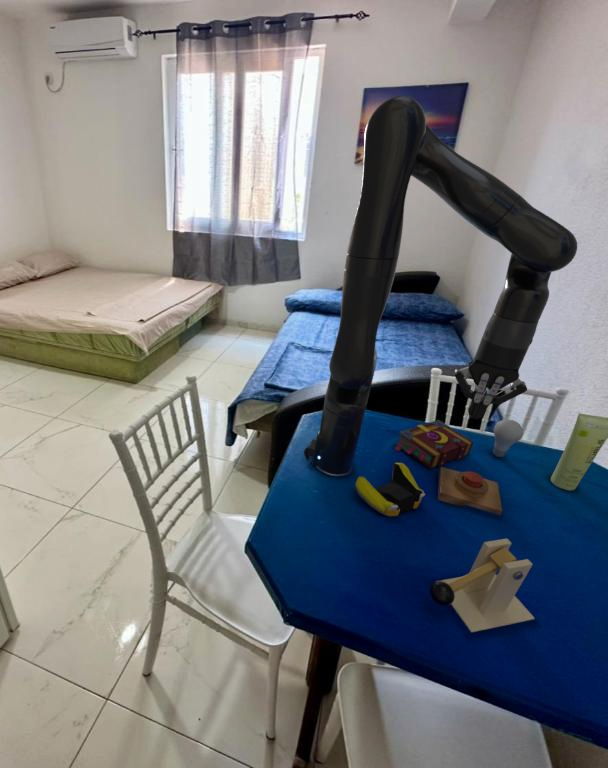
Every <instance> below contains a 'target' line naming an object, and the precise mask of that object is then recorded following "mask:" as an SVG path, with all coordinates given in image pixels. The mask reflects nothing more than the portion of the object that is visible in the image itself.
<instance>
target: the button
mask: <svg viewBox="0 0 608 768" xmlns="http://www.w3.org/2000/svg"><path fill="white" fill-rule="evenodd" d="M465 472H466V473H465V475H464V478H463V482H464V483H465V484H467V485H468V486H471V487H474V488H479V487H480V486H481V484H482V482H483V479H484V478H483V476H482V475H480V474H479V473H478V472H475V471H465Z"/></svg>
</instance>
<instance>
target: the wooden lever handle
mask: <svg viewBox="0 0 608 768" xmlns="http://www.w3.org/2000/svg"><path fill="white" fill-rule="evenodd" d="M490 558H491V562H489V563H487V564H486V565H484V566H482V567H480V568H478V569H476V570H474V571H472V572H471V573H470V572H468V573H467V574H465V575H463V576H460V577H461V578H459V579H457V580H456V581H454V582H452V583H450V584H447V583H445V582H442V581H441V580H436V581H437V582H436V581H434V582H433V583H431V585H430V587H429V595H430V598H431V599H432V601H433V602H434V603H435V604H437V605H438V606H441V607H449V606H452V605H451V604H452V603H453V601H454V599H455V594H454V593H455V592H457V591H459V590H460V589H462V588H464V587H466V586H468V585H470V584H472V583H474V582H476V581H477V580H479V579H481V578H483V577H485V576H487V575H489V574H491V573H492V572H494V571H496V570H497V571H498V572H499V571H500V569H501V567H502V565H503V564H504V563H508V562H514V561H518V560H517V557H516V556H514V554H513V553H512V552H510V550H509V549H507V548H506V547H505V548H503V549H501V550H499V551H497V552H495V553H493V554H491V555H490Z"/></svg>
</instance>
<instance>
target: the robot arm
mask: <svg viewBox="0 0 608 768" xmlns="http://www.w3.org/2000/svg"><path fill="white" fill-rule="evenodd" d="M363 139H364V143H363V144H364V147H363V148H364V149H363V167H362V180H361V181H362V182H361V190H360V196H359V201H358V204H357V205H358V206H357V209H356V213H355V216H354V220H353V223H352V229H351V232H350V236H349V242H348V247H347V250H346V251H347V253H346V260H345V265H344V272H343V282H342V289H341V290H342V292H341V304H340V320H339V326H338V331H337V335H336V339H335V343H334V347H333V350H332V354H331V356H330V360H329V363H328V364H329V365H328V367H329V373H330V376H329V380H328V384H327V388H326V391H325V395H324V402H323V407H322V414H321V420H320V425H319V430H318V432H317V434H316V438H315V439H314V438H312V439H311V441H310V444H309V445H308V446H307V447H305V448H304V450H303V456H304V457H305V460H306V461H310V460H311V458H312V462H311V467H312V468H316V470H317V471H319V472H320V473H321V474H323V475H325V476H328V477H333V478H344V477H346V476H347V477H348V475H351V473H352V471H353V469H354V461H355V458H356V453H357V449H358V444H359V439H360V435H361V431H362V427H363V422H364V418H365V414H366V410H367V404H368V401H369V397H370V393H371V388H372V384H373V379H374V376H375V371H376V366H377V364H378V363H377V362H378V352H377V349H376V344H377V336H378V330H379V326H380V323H381V319H382V316H383V314H384V312H385V309H386V305H387V302H388V300H389V296H390V294H391V290H392V287H393V283H394V280H395V275H396V272H397V266H398V262H399V257H400V251H401V245H402V244H401V243H402V237H403V229H404V216H405V206H406V205H405V204H406V197H407V192H408V187H409V184H410V180H411V177H413V178H414V179H416V180H417V181H419V182H420V183H422V184H423V185H425V186H426V187H427V188H428V189H430V190H431V191H432V192H433V193H435V195H437V196H438V197H439V198H440V199H441V200H443V201H444V202H445V203H446V204H447V205H448V206H449V207H450V208H451V209H452V210H454V212H456V213H457V214H458V215H460V216H461V217H462V218H463V219H464V220H466V222H468V223H470V225H472V226H473V227H474V228H476V229H477V230H478V231H480V232H481V233H483V234H484V235H485V236H487V237H488V238H490V239H492V240H493V241H496V242H498V244H500V245H501V246H502V247H504V248H505V249H506V250H507V251H508V252H510V253H511V254H510V258H509V262H508V265H507V270H506V275H505V280H504V283H503V284H504V285H503V287H502V291H500V294H499V297H498V298H497V299H498V300H497V302H496V303H495V304H496V305H495V306H494V309H493V312H492V314H491V316H490V317H489V320H488V322H487V323H486V326H485V329H484V331H483V334H482V337H481V339H480V342H479V345H478V347H477V350H476V352H475V355H474V357H473V359H472V361H470V362H469V363H468V365H467V366H466V367H462V368H460V367H456V368H455V369H454V378H455V380H456V382H457V383H458V385H459V387H460V390H461V391H462V393H463V395H464V397H465V398H466V399H470V400H471V401H470V403H469V406H468V409H467V412H468V413H467V414H468V416H469V418H471V419H473V420H477V421H479V420H480V419H482V418H484V417H485V415H486V413H487V411H488V407H489V406H490V405H496V406H500V405H502V404H505V403H506V402H508V401H511V400H513V399H514V398H516V397H518V396H520V395H522V394H524V393H526V392H528V386H527V385H526V382H525V381H523V380H521V378H520V372H519V371H520V368H521V365H522V364H523V361H524V359H525V357H526V355H527V353H528V350H529V348H530V346H531V345H532V343H533V340H534V337H535V334H536V332H537V328H538V325H539V321H540V319H541V317H542V314H543V312H544V310H545V308H546V306H547V303H548V301H549V297H550V290H549V280H550V278H551V275H552V273H553V272H558V271H560V270H561V269H564V268H565V267H567V266H568V265H569V264H570V263H571V262H572V261H573V260H574V258H575V257H576V254H577V251H578V241H577V238H576V236H575V235H574V233H572V232H571V231H570V230H569V228H567V227H565V226H564V225H562V224H560V223H559V222H557V221H556V220H555V219H553V218H552V217H550V216H548V215H546V214H545V213H544V212H542V211H540V210H539V209H537V208H536V207H534V206H532V204H530V203H529V202H528V200H526V199H525V198H524V197H523V196H522V195H520V194H519V193H517V191H515V190H514V189H513V188H512V187H510V186H509V185H508V184H506V183H505V182H503V181H502V180H501V179H499V178H498V177H497V176H495V175H494V174H492V173H490V172H488V171H487V170H485V168H482V167H481V166H479V165H477V164H476V163H474V162H472V161H470V160H469V159H466V158H465V157H464V156H462V155H461V154H459V153H458V152H456V151H455V150H454V149H452V148H451V147H449V146H448V145H447V144H446V143H445V142H444V141H443V140H442V139H441V138H439V136H437V134H436V133H435V132H434V131H433V129H431V127H430V126H429V125H428V123H427V118H426V114H425V111H424V109H423V107H422V106H421V104H420V103H419V102H418V101H417V100H415V99H414V98H412V97H410V96H407V95H396V96H393V97H391V98H388V99H386V100H385V101H383V102H382V103H381V104H380V105H378V106H377V108H375V110H374V111H373V112H372V113H371V115H370V117H369V119H368V121H367V123H366V126H365V130H364V138H363ZM469 374H470V377H471V378H472V381H473V383H474V384H475V385H474V390H472V388H471V387H470V385H469V383H468V381H467V379H468V378H469ZM507 386H509V387H507ZM505 387H506V388H505ZM501 389H503V390H501Z"/></svg>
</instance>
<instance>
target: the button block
mask: <svg viewBox="0 0 608 768" xmlns="http://www.w3.org/2000/svg"><path fill="white" fill-rule="evenodd" d="M466 472H467V471H458V470H455V469H451V468H447V467H444V466H440V467H439V470H438V474H437V500H438V501H441V502H444V503H447V504H451V505H453V506H457V507H465V506H469V507H472V508H474V509H475V508H476V509H478V510H481V511H485V512H488V513H491V514H495V515H498V516H501V515H502V513H503V507H502V500H501V495H500V490H499V483H498V481H494V480H490V479H487V478H483V482H482V484H481V486H480V487H479V488H474V487H471V486H468V485H467V484H465V483H464V482H463V478H464V475H465V473H466Z"/></svg>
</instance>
